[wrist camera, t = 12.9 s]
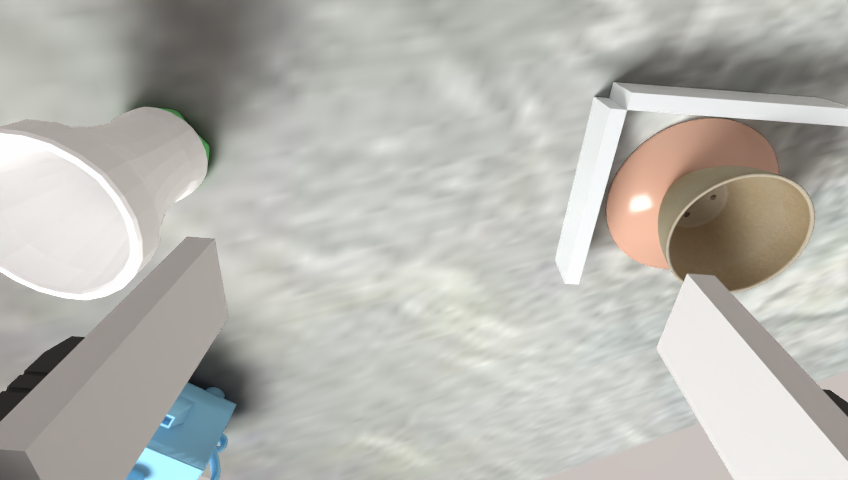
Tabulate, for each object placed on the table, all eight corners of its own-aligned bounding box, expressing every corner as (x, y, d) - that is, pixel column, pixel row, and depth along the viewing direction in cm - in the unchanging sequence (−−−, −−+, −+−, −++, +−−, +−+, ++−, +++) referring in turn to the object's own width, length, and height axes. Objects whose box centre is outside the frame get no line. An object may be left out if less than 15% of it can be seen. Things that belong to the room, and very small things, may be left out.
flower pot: (700, 117, 36) (754, 145, 30) (780, 185, 39) (845, 224, 33) (607, 211, 40) (638, 252, 34) (685, 267, 43) (727, 315, 37)
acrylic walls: (597, 80, 36) (614, 91, 32) (818, 97, 36) (860, 109, 32) (555, 259, 43) (564, 283, 40) (736, 272, 43) (762, 298, 40)
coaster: (631, 111, 37) (633, 112, 36) (806, 124, 37) (809, 125, 36) (588, 261, 43) (590, 263, 43) (736, 271, 43) (739, 274, 43)
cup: (78, 85, 37) (-104, 135, 25) (212, 75, 36) (93, 122, 24) (131, 211, 42) (3, 305, 30) (249, 205, 42) (167, 298, 29)
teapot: (273, 383, 53) (234, 475, 43) (214, 464, 60) (169, 558, 50) (137, 319, 49) (60, 404, 39) (92, 414, 56) (18, 505, 46)
